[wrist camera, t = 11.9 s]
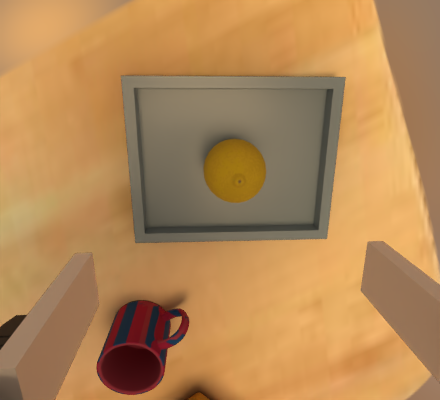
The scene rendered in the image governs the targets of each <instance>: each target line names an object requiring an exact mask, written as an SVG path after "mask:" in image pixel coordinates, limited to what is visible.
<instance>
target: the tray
mask: <svg viewBox="0 0 440 400" xmlns="http://www.w3.org/2000/svg"><path fill="white" fill-rule="evenodd" d="M345 78H346V77H257V76H121V81H122V93H123V104H124V116H125V128H126V139H127V151H128V163H129V174H130V186H131V198H132V209H133V221H134V233H135V243H159V242H205V241H251V240H297V239H327V234H328V225H329V217H330V208H331V199H332V191H333V182H334V173H335V165H336V156H337V147H338V139H339V130H340V121H341V113H342V104H343V95H344V87H345ZM227 139H241V140H245V141H247V142H249V143H251V144H252V145H254V146H255V147H256V148H257V149H258V150H259V152H260V153H261V154H262V156H263V158H264V161H265V165H266V178H265V182H264V184H263V187H262V188H261V190H260V191H259V192H258V194H256V195H255V196H254V197H253V198H251V199H249V200H247V201H245V202H240V203H231V202H227V201H224V200H222V199H220V198H218V197H217V196H216V195H214V194H213V193H212V192H211V190H210V189H209V187H208V186H207V184H206V181H205V178H204V169H203V168H204V163H205V159H206V157H207V155H208V153H209V152H210V150H211V149H212V148H213V147H214V146H215V145H217V144H218V143H220V142H222V141H224V140H227Z"/></svg>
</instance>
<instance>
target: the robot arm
mask: <svg viewBox="0 0 440 400" xmlns="http://www.w3.org/2000/svg"><path fill="white" fill-rule="evenodd" d="M361 292H362V293H363V294H364V295H365V296H366V298H367V299H368V300H369V301H370V302H371V303H372V305H373V306H374V307H375V308H376V309H377V310H378V312H379V313H380V314H381V315H382V316H383V317H384V319H385V320H386V321H387V322H388V323H389V325H390V326H391V327H392V328H393V329H394V330H395V332H396V333H397V334H398V335H399V336H400V337H401V339H402V340H403V341H404V342H405V343H406V344H407V346H408V347H409V348H410V349H411V350H412V351H413V353H414V354H415V355H416V356H417V357H418V358H419V360H420V361H421V362H422V363H423V364H424V366H425V367H426V368H427V369H428V370H429V371H430V373H431V374H432V375H433V376H434V377H435V378H436V380H437V381H438V382H439V383H440V285H439V284H438V283H437V282H435V281H434V280H433V279H432V278H430V277H429V276H428V275H426V274H425V273H424V272H422V271H421V270H420V269H419V268H417V267H416V266H415V265H413V264H412V263H411V262H409V261H408V260H407V259H406V258H404V257H403V256H402V255H400V254H399V253H398V252H396V251H395V250H394V249H392V248H391V247H390V246H389V245H387V244H386V243H385V242H383V241H373V242H368V243H367V250H366V257H365V264H364V271H363V278H362V285H361ZM98 306H99V297H98V290H97V283H96V276H95V269H94V262H93V255H92V253H75V254H74V255H73V257H72V258H71V259H70V261H69V262H68V263H67V264H66V266H65V267H64V268H63V270H62V271H61V272H60V273H59V275H58V276H57V277H56V279H55V280H54V281H53V283H52V284H51V285H50V286H49V288H48V289H47V290H46V292H45V293H44V294H43V295H42V297H41V298H40V299H39V301H38V302H37V303H36V305H35V306H34V307H33V308H32V310H31V311H30V312H29V314H28V315H16V316H15V317H13V318H12V319H10V320H9V321H8V322H6V323H5V324H3V325H2V326H1V327H0V400H55V398H56V396H57V394H58V392H59V390H60V387H61V385H62V383H63V381H64V379H65V377H66V375H67V372H68V370H69V368H70V366H71V364H72V362H73V360H74V357H75V355H76V353H77V351H78V349H79V347H80V345H81V342H82V340H83V338H84V336H85V334H86V332H87V330H88V327H89V325H90V323H91V321H92V319H93V317H94V314H95V312H96V310H97V308H98Z"/></svg>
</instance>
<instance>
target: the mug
mask: <svg viewBox="0 0 440 400" xmlns="http://www.w3.org/2000/svg"><path fill="white" fill-rule="evenodd" d="M178 316H182V322H181V325H180V327H179V329H178V330H177V332H176V333H175V334H173V335H172V336H171V337H169V334H170V319H172V318H174V317H178ZM188 327H189V317H188V316H187V314H186V312H185V311H184V310H182V309H172V310H169V311H165V310H164V309H163V308H162V307H160V306H159V305H157V304H155V303H153V302H149V301H134V302H130V303H128V304H126V305H124V306H123V307H121V308H120V310H119V311H118V312H117V314H116V316H115V318H114V321H113V323H112V326H111V328H110V331H109V333H108V336H107V339H106V341H105V344H104V346H103V349H102V351H101V354H100V357H99V359H98V362H97V373H98V376H99V378H100V380H101V381H102V382H103V384H104V385H106V386H107V387H108V388H109V389H111V390H113V391H115V392H118V393H121V394H127V395H136V394H142V393H145V392H148V391H150V390H152V389H153V388H155V387H156V386H157V385H158V384H159V383H160V381H161V380H162V378H163V376H164V372H165V364H166V357H167V349H168V348H169V347H172V346H174V345H176V344H177V343H178V342H180V341H181V340H182V339H183V337H184V336H185V334H186V332H187V330H188Z"/></svg>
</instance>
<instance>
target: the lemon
mask: <svg viewBox="0 0 440 400" xmlns="http://www.w3.org/2000/svg"><path fill="white" fill-rule="evenodd" d="M203 169H204V178H205V181H206V184H207V186H208V187H209V189H210V190H211V192H212V193H213V194H214V195H216V196H217V197H218V198H220V199H222V200H224V201H227V202H231V203H240V202H245V201H247V200H249V199H251V198H253V197H254V196H255V195H256V194H258V192H259V191H260V190H261V188H262V187H263V184H264V182H265V178H266V165H265V161H264V158H263V156H262V154H261V153H260V152H259V150H258V149H257V148H256V147H255V146H254V145H252V144H251V143H249V142H247V141H245V140H241V139H227V140H224V141H222V142H220V143H218V144H217V145H215V146H214V147H213V148H212V149H211V150H210V152H209V153H208V155H207V157H206V159H205V163H204V168H203Z"/></svg>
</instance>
